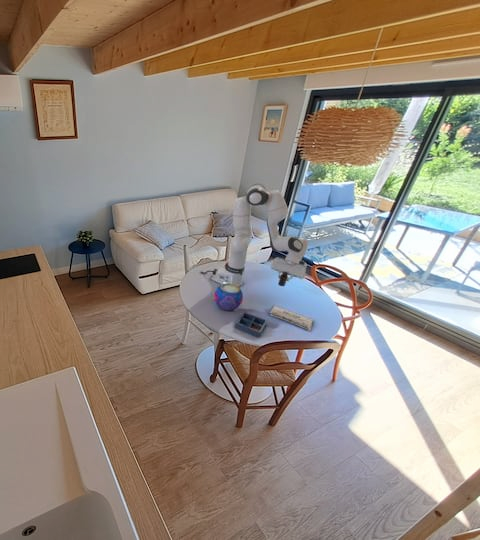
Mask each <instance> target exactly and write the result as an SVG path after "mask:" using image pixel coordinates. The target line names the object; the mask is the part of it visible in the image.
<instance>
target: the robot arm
mask: <svg viewBox="0 0 480 540" xmlns="http://www.w3.org/2000/svg"><path fill="white" fill-rule="evenodd" d="M252 206H256V207H257V206H264V207H265V208H266V209H265V210H266V212H267V218H266V227H267V231H268V235H269V246H270V249H271V250H272V251H273V252H275V253H276V252H288V253H287V254H286V256H285V258H283V257H280V256H278V257H277V256H276V257H274V259H273V262H272V263H271V264H270V269H271V270H272V271H276V272H277V274H278V275H277V279H280V277H281V274H282V273H283V272H287V273H288V275H287V276H290V277H288V278H287V279H286V282H290V280H292V279H293V278H297V279H299V280H303V279H305V277H306V273H307V268H308V264H307V263H306V262H305V261H304V260H302V259H303V256H304V255H305V254H306V252H307V250H308V247H309V241H308V240H307V239H305V238H304V237H297V236H291V235H290V236H289V235H288V236H281V235H280V232H279V227H278V223H280V222H282V221H283V220H284V219H285V218H286V217H287V216H288V215H289V207H288V205H287V202H286V200H285V198H284V196H283V194H282V193H281V191H280V190H277V189H273V190H269V191H267V190H266V187H265V186H264V185H263V184H261V183H255V184H252V185H251V186H250V187H249V188H248V189H247V190H246V193H245V194H244V196H239V197H237V198H235V200H234V202H233V208H232V227H233V231H234V236H233V238H232V239H231V241H230V245H229V258H228V260H227V261H226V263H225V264H224V266H223V267H220V268H214V269H213V270H206V271H205V272H204V271H200V273H201V274H204V275H205V274H207V273H212V275H211V278H210V279H211V280H212V281H214V282H216V283H218V284H219V285H221V284H224V283H231V284H234V285H236V286H238V287H239V288H240V287H241V286H243V285H244V284H243V283H244V282H243V275H244V272H245V267H246V266H245V265H246V260H247V254H248V248H249V246H250V244H251V242H252V240H253V239H252V238H253V236H252V227H251V225H252V223H251V221H252V220H251V219H252Z"/></svg>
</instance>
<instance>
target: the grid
mask: <svg viewBox="0 0 480 540" xmlns="http://www.w3.org/2000/svg"><path fill="white" fill-rule="evenodd" d="M267 323H268V320H266V319H263V318H262V317H258V316H255V315H252V314H250V313H248V312H245V311H244V312H243V314H242V315H241V316H240V318H239V319H238V320H237V322H236V324H235V325H236V326H235V329H237V330H240V331H243V332H244V333H248V334H250V335H252V336H254V337H258V338H260V336H262V335H261V334H263V331H264V330H265V328H266V326H267Z"/></svg>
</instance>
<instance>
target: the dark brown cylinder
mask: <svg viewBox="0 0 480 540" xmlns="http://www.w3.org/2000/svg"><path fill="white" fill-rule="evenodd" d="M280 275H281V277H280V278H279V279H278V282H277V285H278V286H280V287H285V286H286V283H287V281H286V279H287V278H289V275H288V273H287V272H283V273H282V272H281V273H280Z"/></svg>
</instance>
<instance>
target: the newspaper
mask: <svg viewBox="0 0 480 540" xmlns="http://www.w3.org/2000/svg"><path fill="white" fill-rule="evenodd" d="M269 314H270V316H272V317H274V318H277V319H280V320H282V321H283V320H284V321H286V322H288V323H291V324H293V325H296V326H298V327H301V328H302V329H305V330H307V331H311V329H312V326H313V321H314V319H312V318H310V317H307V316H304V315H301V314H299V313H295V312H294V311H290V310H287V309H284V308H282V307H279V306H276V305H274V306H273V307H272V309H271V310H270V312H269Z"/></svg>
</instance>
